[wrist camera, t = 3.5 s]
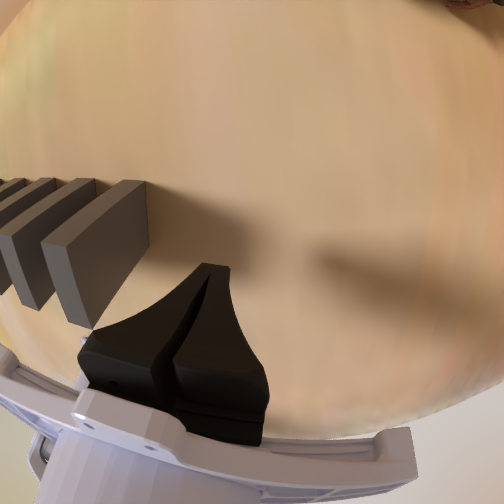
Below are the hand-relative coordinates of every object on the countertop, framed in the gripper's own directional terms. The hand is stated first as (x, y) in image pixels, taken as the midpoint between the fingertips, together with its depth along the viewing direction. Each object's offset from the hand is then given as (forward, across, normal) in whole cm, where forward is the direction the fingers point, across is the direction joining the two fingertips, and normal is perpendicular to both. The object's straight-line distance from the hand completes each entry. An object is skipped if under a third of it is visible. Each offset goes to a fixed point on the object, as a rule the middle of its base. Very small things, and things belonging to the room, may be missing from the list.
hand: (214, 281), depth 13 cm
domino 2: (+6, +11, 0) cm, 13 cm away
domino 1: (+6, +7, 0) cm, 9 cm away
